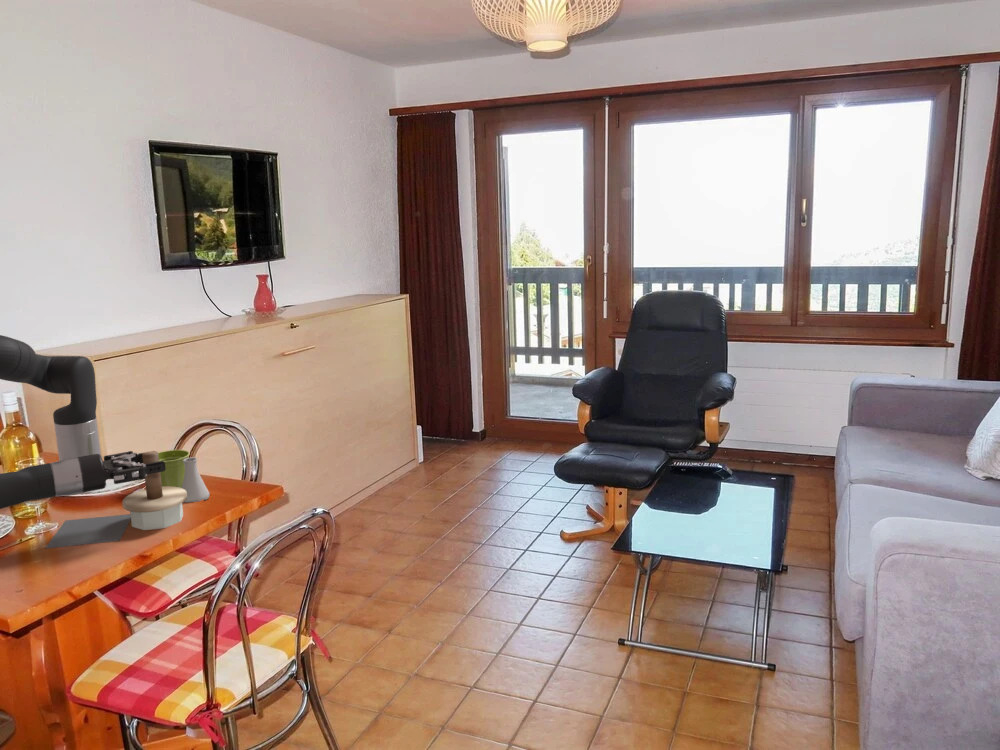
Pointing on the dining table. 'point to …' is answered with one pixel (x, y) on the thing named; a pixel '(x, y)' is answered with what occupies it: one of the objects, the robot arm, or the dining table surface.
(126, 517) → the mat
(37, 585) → the dining table surface
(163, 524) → the bowl
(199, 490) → the flask
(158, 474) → the lid
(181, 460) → the plant pot
